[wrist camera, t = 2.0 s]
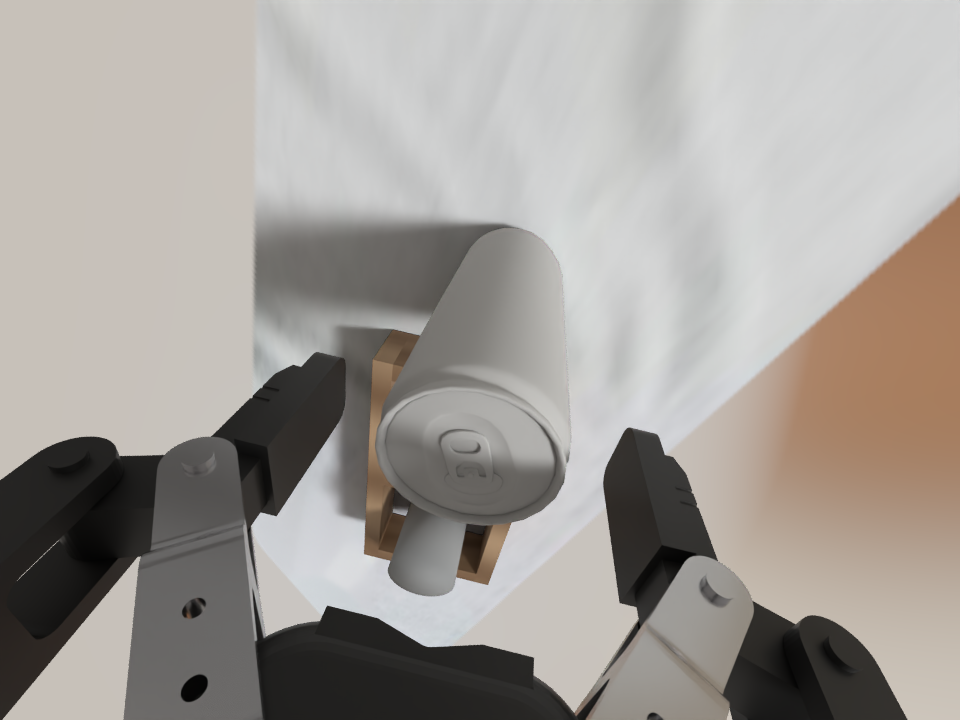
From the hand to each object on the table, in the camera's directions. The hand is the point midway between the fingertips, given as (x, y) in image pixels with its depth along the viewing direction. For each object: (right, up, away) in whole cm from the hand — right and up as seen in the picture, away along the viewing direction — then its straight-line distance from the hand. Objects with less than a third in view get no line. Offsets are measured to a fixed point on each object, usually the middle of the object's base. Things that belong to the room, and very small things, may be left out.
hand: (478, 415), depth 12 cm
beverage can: (+2, +6, +8) cm, 10 cm away
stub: (-3, -8, +18) cm, 19 cm away
